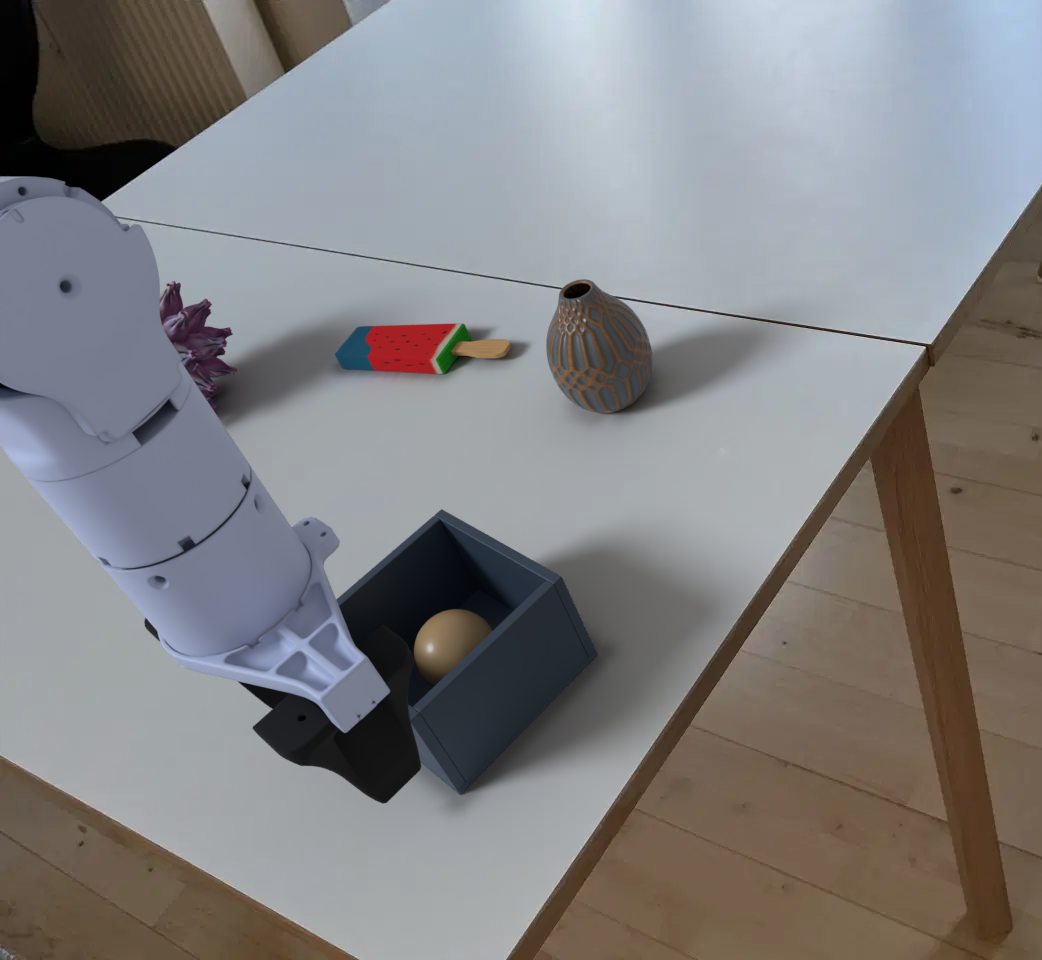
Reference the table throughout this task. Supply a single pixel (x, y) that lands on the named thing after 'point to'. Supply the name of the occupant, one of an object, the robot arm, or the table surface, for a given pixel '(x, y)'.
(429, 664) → the brown ball
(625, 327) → the vase
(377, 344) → the popsicle
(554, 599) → the bin
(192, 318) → the flower
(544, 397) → the table surface
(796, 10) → the table surface
